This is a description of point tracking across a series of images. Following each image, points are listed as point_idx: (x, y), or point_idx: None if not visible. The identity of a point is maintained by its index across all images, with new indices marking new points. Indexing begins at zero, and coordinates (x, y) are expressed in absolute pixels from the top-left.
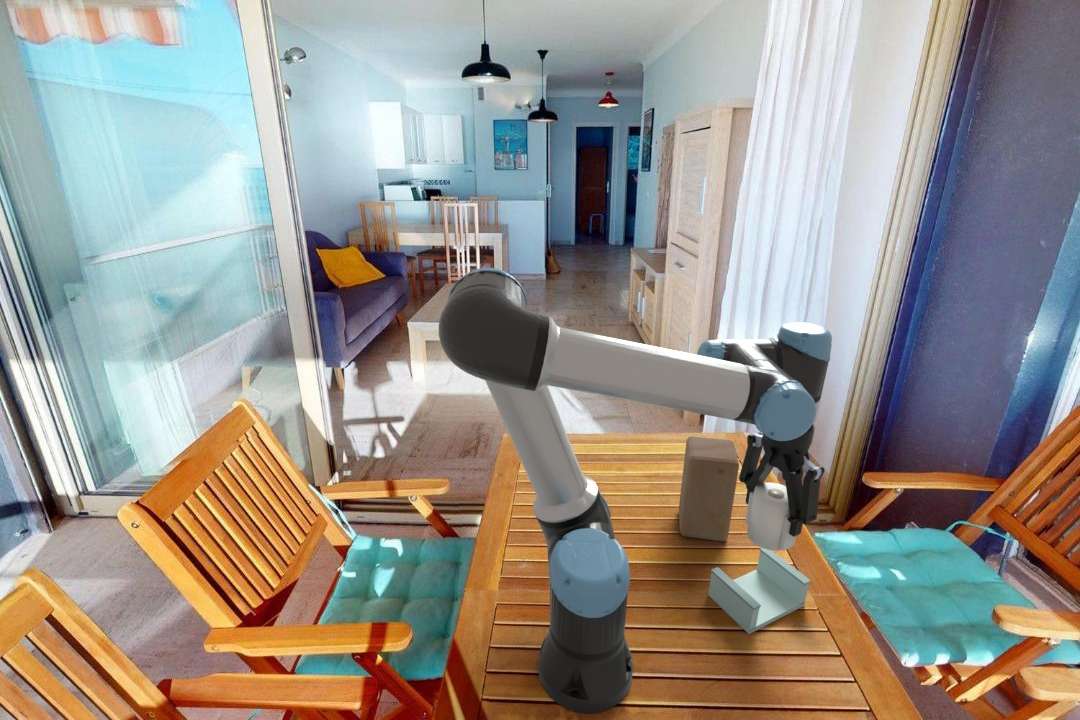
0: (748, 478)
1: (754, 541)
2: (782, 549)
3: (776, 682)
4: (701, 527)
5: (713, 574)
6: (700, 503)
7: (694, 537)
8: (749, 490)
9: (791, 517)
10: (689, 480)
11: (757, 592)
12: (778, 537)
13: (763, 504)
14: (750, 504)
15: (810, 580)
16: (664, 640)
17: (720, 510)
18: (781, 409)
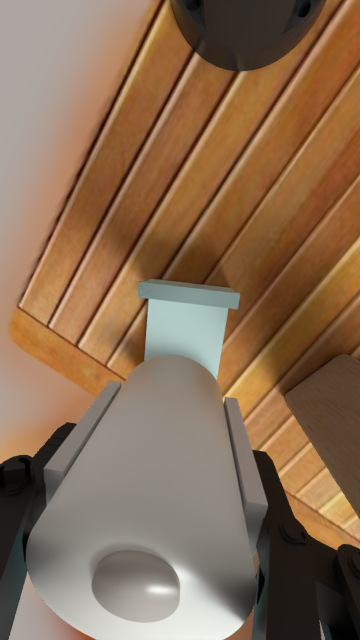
0: (334, 601)
1: (175, 357)
2: (110, 382)
3: (85, 245)
4: (328, 381)
5: (233, 292)
6: None
7: (323, 366)
8: (277, 516)
9: (22, 482)
10: None
11: (187, 344)
12: (114, 398)
13: (132, 469)
14: (241, 452)
15: None
16: (211, 157)
17: (328, 427)
18: None
